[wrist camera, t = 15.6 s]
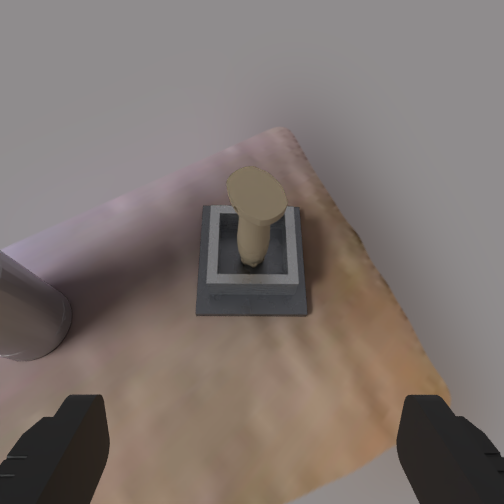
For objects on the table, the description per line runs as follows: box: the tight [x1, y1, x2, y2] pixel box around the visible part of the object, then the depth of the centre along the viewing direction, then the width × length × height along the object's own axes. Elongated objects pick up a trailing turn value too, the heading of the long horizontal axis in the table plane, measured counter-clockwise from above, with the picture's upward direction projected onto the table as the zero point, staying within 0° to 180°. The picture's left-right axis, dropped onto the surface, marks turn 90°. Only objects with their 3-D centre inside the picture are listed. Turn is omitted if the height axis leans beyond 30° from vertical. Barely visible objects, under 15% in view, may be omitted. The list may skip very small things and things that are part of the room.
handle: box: [227, 166, 288, 268], centre depth 39 cm, size 5×6×15 cm
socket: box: [196, 205, 307, 316], centre depth 45 cm, size 14×16×5 cm
